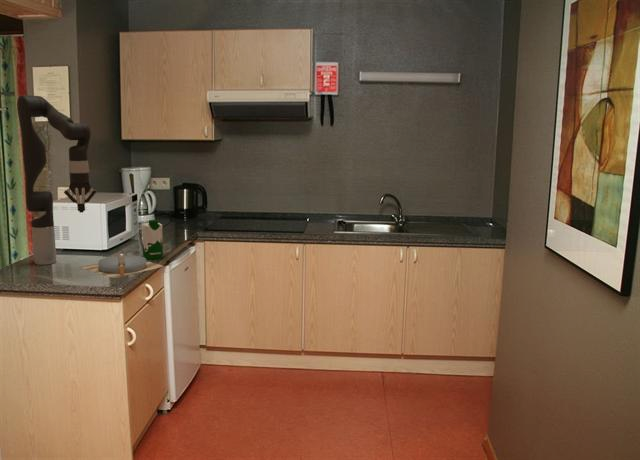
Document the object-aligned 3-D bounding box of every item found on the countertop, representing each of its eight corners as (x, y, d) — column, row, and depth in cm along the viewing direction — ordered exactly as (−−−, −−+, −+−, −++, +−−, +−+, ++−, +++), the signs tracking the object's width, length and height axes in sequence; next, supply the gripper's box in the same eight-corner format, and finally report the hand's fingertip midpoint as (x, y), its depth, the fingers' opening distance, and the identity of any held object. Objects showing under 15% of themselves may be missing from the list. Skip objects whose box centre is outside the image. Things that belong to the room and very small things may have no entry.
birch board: (79, 270, 240) (79, 258, 239) (130, 259, 261) (130, 248, 260) (113, 281, 225) (113, 268, 224) (165, 269, 246) (165, 257, 245)
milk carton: (147, 263, 254) (145, 222, 251) (140, 259, 261) (139, 219, 258) (165, 261, 260) (164, 220, 256) (158, 257, 267) (157, 217, 263)
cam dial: (100, 262, 248) (99, 245, 246) (146, 260, 254) (145, 243, 252) (96, 274, 229) (95, 256, 227) (146, 271, 235) (145, 253, 234)
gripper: (60, 172, 222) (63, 214, 225) (95, 172, 226) (98, 213, 230) (62, 170, 229) (65, 211, 232) (96, 170, 233) (98, 210, 237)
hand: (81, 212), depth 231 cm, fingers closed
